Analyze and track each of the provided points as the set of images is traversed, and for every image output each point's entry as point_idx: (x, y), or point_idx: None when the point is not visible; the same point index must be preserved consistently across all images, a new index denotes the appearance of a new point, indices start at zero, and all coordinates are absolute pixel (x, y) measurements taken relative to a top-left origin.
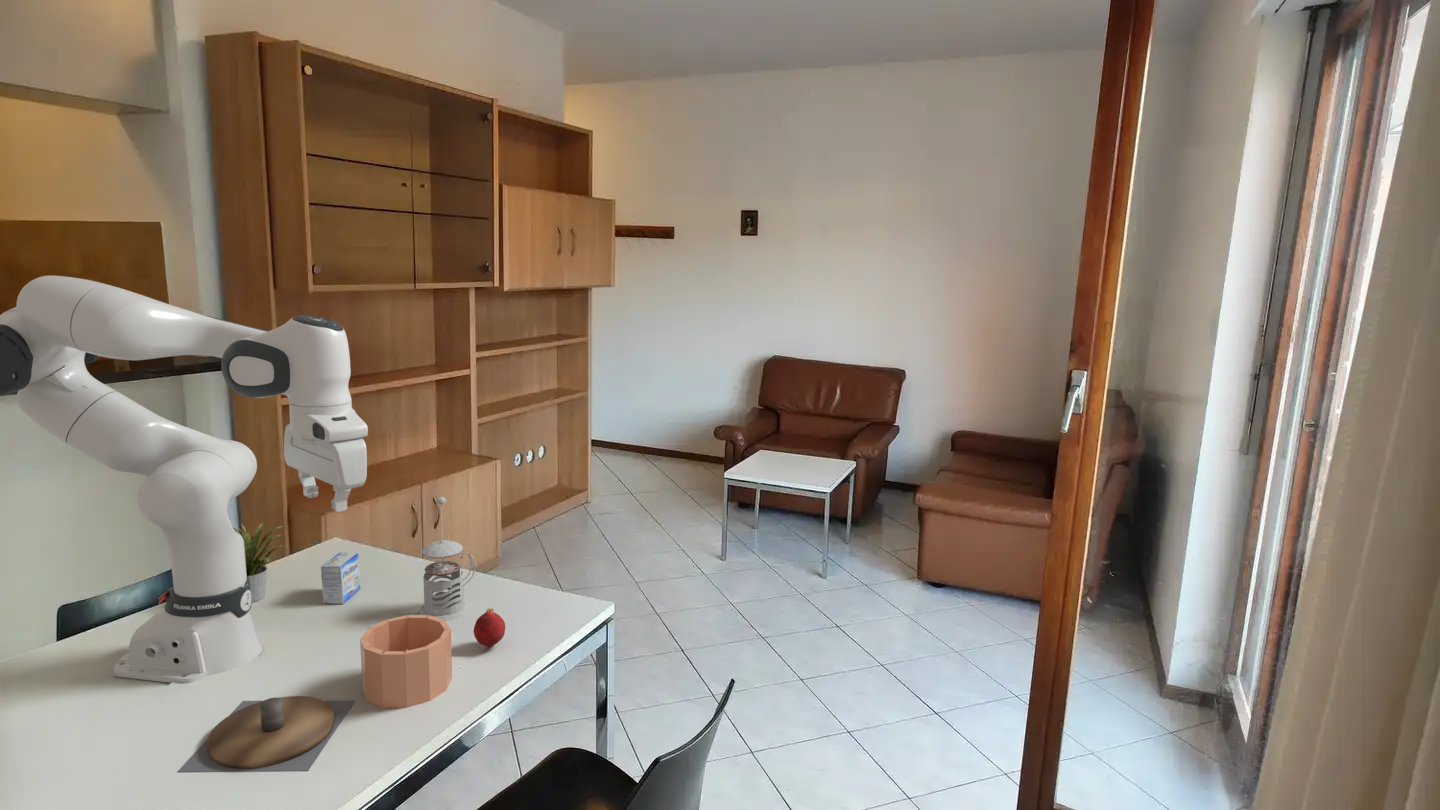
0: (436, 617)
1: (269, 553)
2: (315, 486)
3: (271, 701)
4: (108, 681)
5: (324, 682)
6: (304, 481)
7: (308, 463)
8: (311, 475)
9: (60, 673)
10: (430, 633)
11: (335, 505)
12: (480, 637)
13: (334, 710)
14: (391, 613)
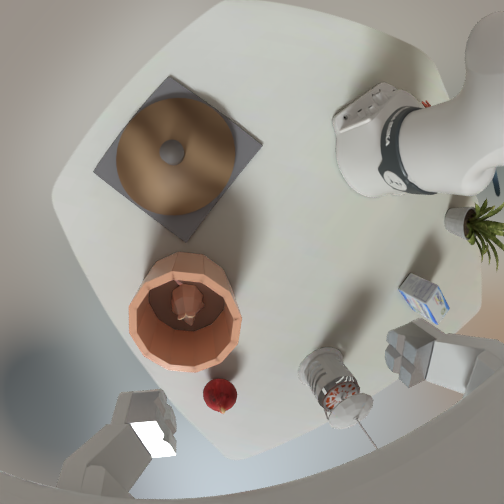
0: (309, 359)
1: (479, 247)
2: (414, 379)
3: (174, 152)
4: (375, 77)
5: (252, 227)
6: (458, 351)
7: (452, 501)
8: (372, 456)
9: (403, 63)
10: (208, 349)
11: (118, 408)
12: (210, 383)
13: (179, 218)
14: (351, 324)
